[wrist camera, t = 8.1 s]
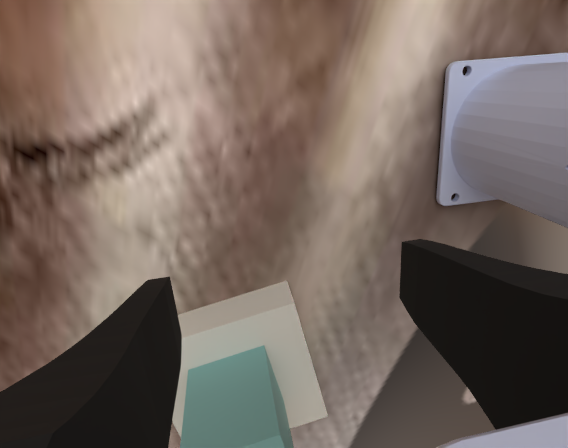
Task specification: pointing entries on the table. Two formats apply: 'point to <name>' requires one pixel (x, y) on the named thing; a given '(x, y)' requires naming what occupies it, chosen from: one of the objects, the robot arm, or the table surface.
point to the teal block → (235, 404)
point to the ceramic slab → (251, 334)
